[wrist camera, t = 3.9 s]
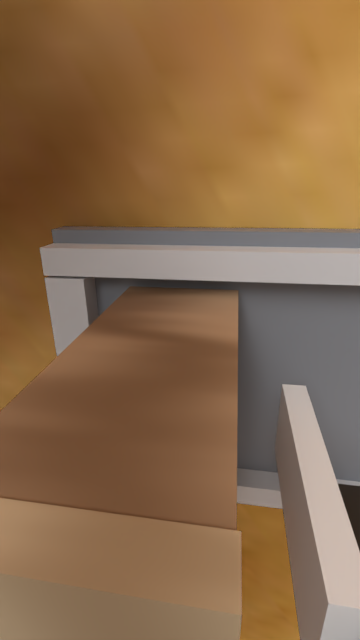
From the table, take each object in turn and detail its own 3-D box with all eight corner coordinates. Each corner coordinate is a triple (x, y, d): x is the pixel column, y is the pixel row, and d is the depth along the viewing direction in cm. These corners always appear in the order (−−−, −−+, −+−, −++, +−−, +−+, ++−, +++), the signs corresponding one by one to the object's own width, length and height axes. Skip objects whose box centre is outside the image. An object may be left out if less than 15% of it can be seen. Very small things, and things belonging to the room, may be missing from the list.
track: (94, 459, 18) (78, 490, 16) (63, 226, 14) (37, 233, 12) (576, 515, 15) (623, 561, 13) (740, 232, 11) (846, 242, 9)
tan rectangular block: (140, 454, 16) (3, 833, 7) (128, 284, 13) (-151, 547, 4) (230, 464, 15) (215, 897, 6) (239, 288, 12) (242, 614, 3)
